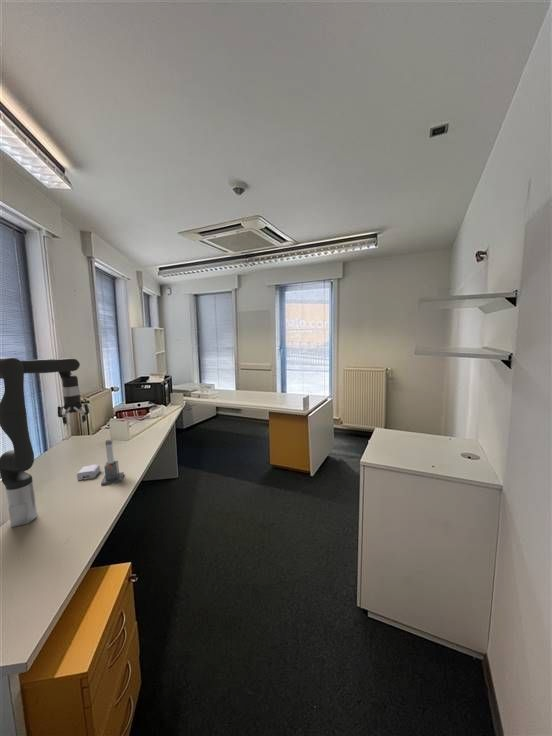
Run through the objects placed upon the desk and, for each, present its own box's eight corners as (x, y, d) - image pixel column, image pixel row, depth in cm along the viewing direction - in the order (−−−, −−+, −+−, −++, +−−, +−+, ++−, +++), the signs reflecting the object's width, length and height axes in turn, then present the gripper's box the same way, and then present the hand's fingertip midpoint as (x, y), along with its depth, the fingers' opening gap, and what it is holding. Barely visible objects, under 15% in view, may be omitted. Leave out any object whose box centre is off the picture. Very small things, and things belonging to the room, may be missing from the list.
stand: (121, 482, 165) (119, 465, 164) (101, 485, 162) (99, 468, 160) (123, 474, 174) (122, 458, 173) (105, 477, 171) (103, 461, 170)
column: (114, 469, 166) (111, 441, 164) (108, 470, 165) (105, 441, 163) (115, 466, 169) (112, 439, 167) (109, 467, 168) (106, 440, 166)
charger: (103, 467, 185) (95, 478, 171) (87, 469, 183) (77, 480, 169) (102, 460, 185) (94, 470, 170) (86, 462, 182) (76, 473, 168)
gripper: (53, 397, 152) (57, 426, 154) (84, 394, 157) (88, 423, 159) (58, 394, 159) (62, 422, 161) (88, 391, 164) (91, 419, 166)
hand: (75, 422), depth 160 cm, fingers open, 8 cm apart
